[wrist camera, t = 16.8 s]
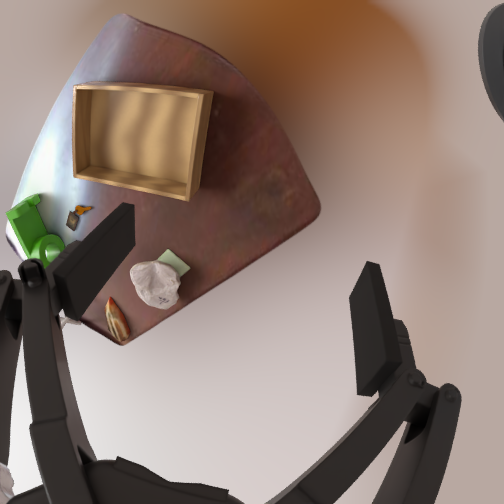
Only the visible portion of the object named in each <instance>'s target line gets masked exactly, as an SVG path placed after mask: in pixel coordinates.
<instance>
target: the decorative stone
mask: <svg viewBox="0 0 504 504" xmlns="http://www.w3.org/2000/svg"><path fill="white" fill-rule="evenodd" d="M105 314H106V319H107V323H108V329H109V331H110V332H111V333H112V335H113V336H114V337H115V338H116V339H117V341H125V340H126V339H127V338H128V336H129V334H130V330H129V327H128V325H127V322H126V320H125V317H124V315H123V314H122V313H121V311H120V310H119V308H118V307H117V305H116V304H115V303H114V301H113V300H112V298H111V297H110V298H109V300H108V303H107V305H106V307H105Z"/></svg>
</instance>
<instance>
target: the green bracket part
mask: <svg viewBox="0 0 504 504" xmlns="http://www.w3.org/2000/svg"><path fill="white" fill-rule="evenodd" d="M39 202H40V198H39V196H38V194H35V195H32V196H30V197H27V198H26V199H24V200H23V201H22V202H20V203H19V204H17V205H16V206H15V207H13V208H12V209H11V210H9V211H8V212H7V213H6V215H7V217H8V219H9V221H10V223H11V226H12V228H13V230H14V232H15V234H16V236H17V238H18V240H19V242H20V244H21V246H22V248H23V250H24V252H25V254H26V256H27V257H28V259H30V258H38V259H40V260H42V261H43V265H44V268H46V267H47V266H48V265H49V264H50V263H51V262H52V261H53V260H54V259H55V258H56V257H58V255H59V254H60V253H61V252H62V251H63V250H64V249H65V246H64V243H63V241H62V240H61V239H60V238H59V237H58V236H56V235H53V234H50V235H48V233H47V231H46V228H45V226H44V224H43V222H42V220H41V218H40V215H39V213H38V211H37V209H36V206H35V205H37V204H38V203H39ZM45 250H47V258H46V254H45Z"/></svg>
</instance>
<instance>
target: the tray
mask: <svg viewBox="0 0 504 504" xmlns="http://www.w3.org/2000/svg"><path fill="white" fill-rule="evenodd" d="M213 93H214V91H208V90H201V89H194V88H186V87H178V86H168V85H158V84H145V83H130V82H103V81H91V82H86V83H82V84H77V85H74V87H73V108H72V154H73V176H74V178H79V179H84V180H90V181H95V182H100V183H105V184H110V185H115V186H120V187H125V188H129V189H134V190H139V191H144V192H149V193H153V194H158V195H163V196H167V197H172V198H176V199H181V200H185V201H190V199H191V198H192V197H193V196H194V194H195V193H196V192H197V190H198V189H199V185H200V177H201V170H202V163H203V155H204V149H205V142H206V135H207V129H208V123H209V116H210V110H211V104H212V99H213Z"/></svg>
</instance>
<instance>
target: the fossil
mask: <svg viewBox="0 0 504 504" xmlns="http://www.w3.org/2000/svg"><path fill="white" fill-rule="evenodd" d="M130 275H131V280H132V282H133V283H134V285H135V287H136V291H137V293H138V295H139V297H140V298H141V299H142V300H143V301H144V302H145V303H146V304H147V305H149V306H155V307H157V308H160V309H168V308H169V307H171V306H172V305H174V304H175V303H176V302H177V299H178V298H179V295H178V293H177V289H178V288H179V285H180V283H181V282H180V275H179V273H178V272H176V270H175V269H174V268H173V267H172V266H171V265H170V264H167V263H164V262H161V261H158V260H155V261H144V262H141V263H138V264H136V265H134V266H133V267H132V269H131V270H130Z"/></svg>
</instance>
